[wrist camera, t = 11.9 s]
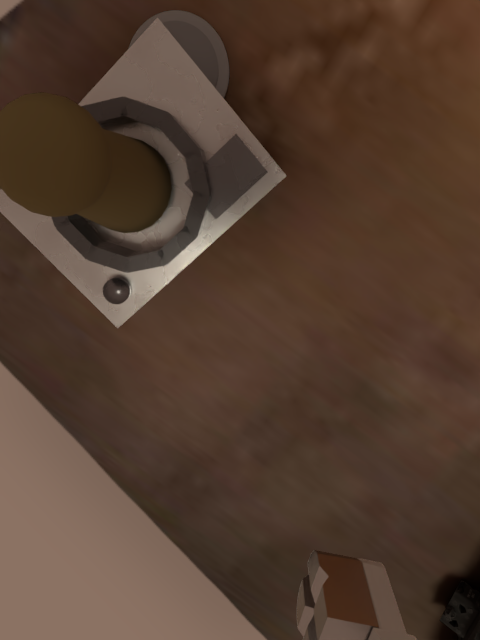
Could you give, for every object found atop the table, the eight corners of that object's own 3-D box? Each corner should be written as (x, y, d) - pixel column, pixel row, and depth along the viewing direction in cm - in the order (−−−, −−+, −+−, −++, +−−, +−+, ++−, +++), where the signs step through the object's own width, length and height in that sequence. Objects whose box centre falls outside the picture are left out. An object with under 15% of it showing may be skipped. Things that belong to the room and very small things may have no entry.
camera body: (169, 37, 30) (148, 1, 24) (282, 176, 33) (289, 175, 27) (19, 198, 34) (-33, 203, 28) (131, 312, 36) (107, 340, 30)
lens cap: (180, -11, 30) (177, -19, 28) (250, 77, 31) (250, 73, 30) (108, 68, 31) (102, 64, 30) (177, 148, 33) (175, 147, 31)
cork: (118, 116, 28) (13, 36, 18) (190, 179, 29) (129, 137, 18) (64, 192, 30) (-66, 159, 19) (133, 252, 30) (43, 253, 19)
